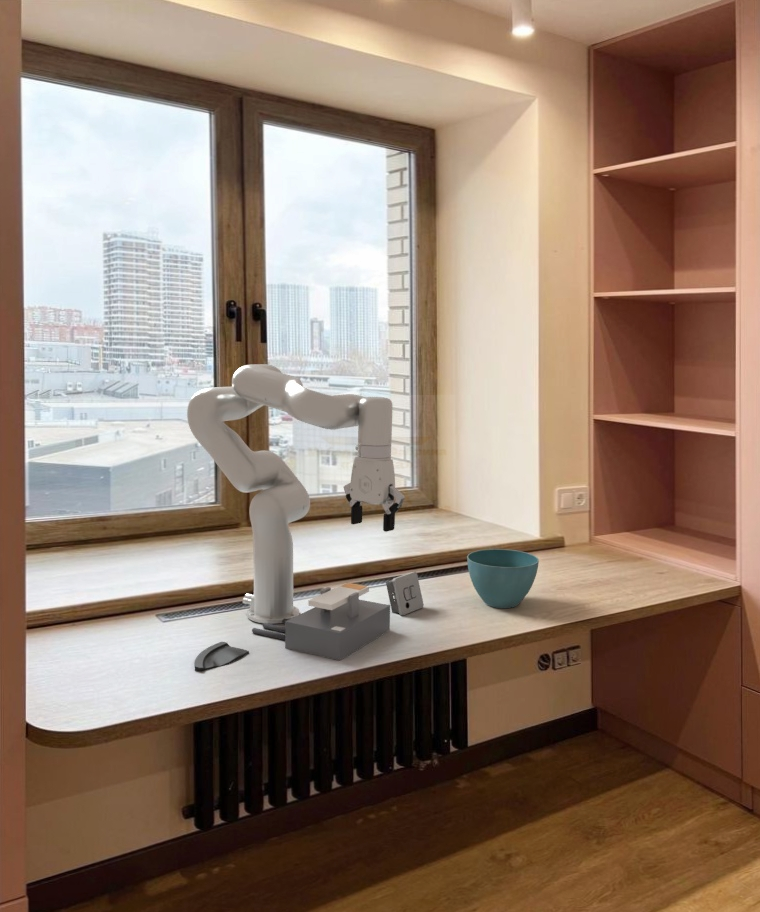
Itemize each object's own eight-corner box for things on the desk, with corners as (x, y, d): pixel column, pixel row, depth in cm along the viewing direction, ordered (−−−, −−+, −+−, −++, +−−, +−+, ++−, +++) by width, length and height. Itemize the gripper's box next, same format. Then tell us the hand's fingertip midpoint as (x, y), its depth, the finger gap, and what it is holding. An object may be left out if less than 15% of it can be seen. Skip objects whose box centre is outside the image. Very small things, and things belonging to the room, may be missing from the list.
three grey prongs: (250, 633, 187) (250, 628, 186) (277, 620, 195) (277, 616, 195) (294, 643, 181) (294, 638, 180) (319, 629, 189) (320, 624, 189)
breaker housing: (285, 648, 178) (285, 599, 176) (338, 619, 197) (339, 575, 195) (339, 660, 171) (340, 609, 170) (389, 630, 190) (390, 584, 189)
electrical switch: (402, 616, 200) (399, 579, 199) (385, 614, 203) (383, 577, 202) (424, 608, 207) (422, 572, 207) (408, 605, 210) (406, 570, 210)
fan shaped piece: (177, 668, 167) (177, 661, 167) (221, 648, 179) (220, 641, 178) (208, 677, 163) (208, 669, 163) (251, 655, 175) (251, 648, 174)
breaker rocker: (308, 605, 177) (308, 599, 177) (346, 587, 191) (346, 582, 191) (331, 610, 174) (331, 604, 174) (369, 591, 188) (369, 586, 188)
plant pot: (543, 615, 203) (545, 567, 201) (470, 614, 202) (471, 566, 201) (529, 593, 221) (531, 549, 219) (462, 592, 220) (463, 548, 219)
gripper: (334, 449, 185) (333, 523, 188) (393, 458, 174) (391, 536, 177) (357, 447, 191) (355, 518, 193) (415, 455, 180) (412, 530, 182)
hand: (372, 526), depth 185 cm, fingers open, 9 cm apart
